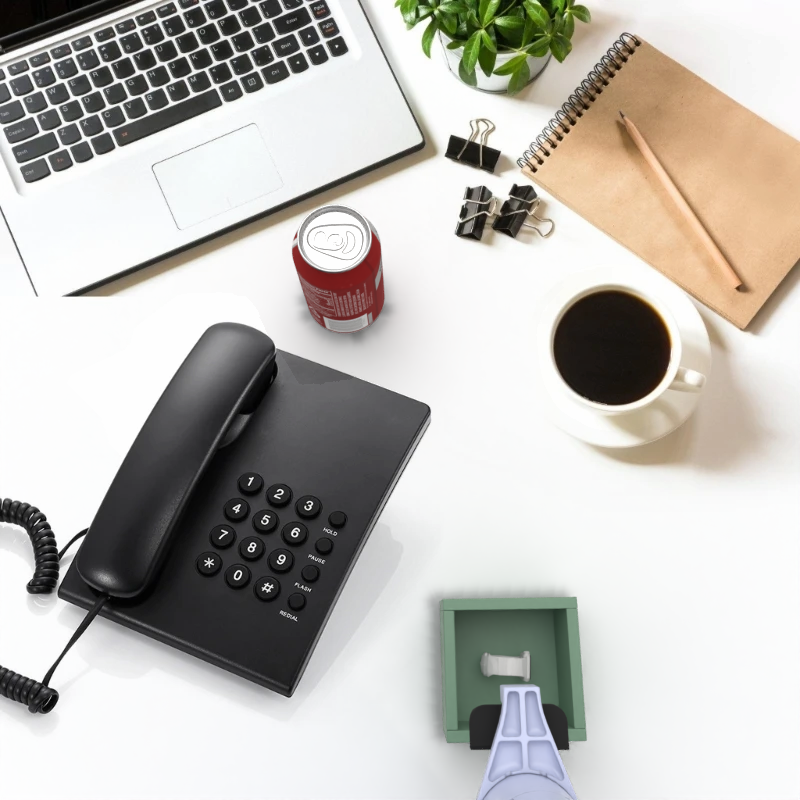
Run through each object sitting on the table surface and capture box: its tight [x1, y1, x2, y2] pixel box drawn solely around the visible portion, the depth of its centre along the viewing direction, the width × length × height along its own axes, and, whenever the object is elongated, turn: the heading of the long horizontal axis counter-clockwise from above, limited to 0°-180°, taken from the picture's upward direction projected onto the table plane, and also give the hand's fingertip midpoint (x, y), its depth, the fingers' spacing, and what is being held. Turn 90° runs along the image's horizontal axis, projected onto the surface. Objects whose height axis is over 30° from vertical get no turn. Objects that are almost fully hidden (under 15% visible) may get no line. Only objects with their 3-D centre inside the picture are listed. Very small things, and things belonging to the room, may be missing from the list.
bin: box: [439, 596, 588, 744], centre depth 59 cm, size 10×10×6 cm
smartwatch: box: [480, 651, 531, 682], centre depth 60 cm, size 4×2×4 cm, turn 87°
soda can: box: [291, 203, 386, 335], centre depth 65 cm, size 7×7×12 cm
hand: (508, 795), depth 51 cm, fingers open, 7 cm apart
